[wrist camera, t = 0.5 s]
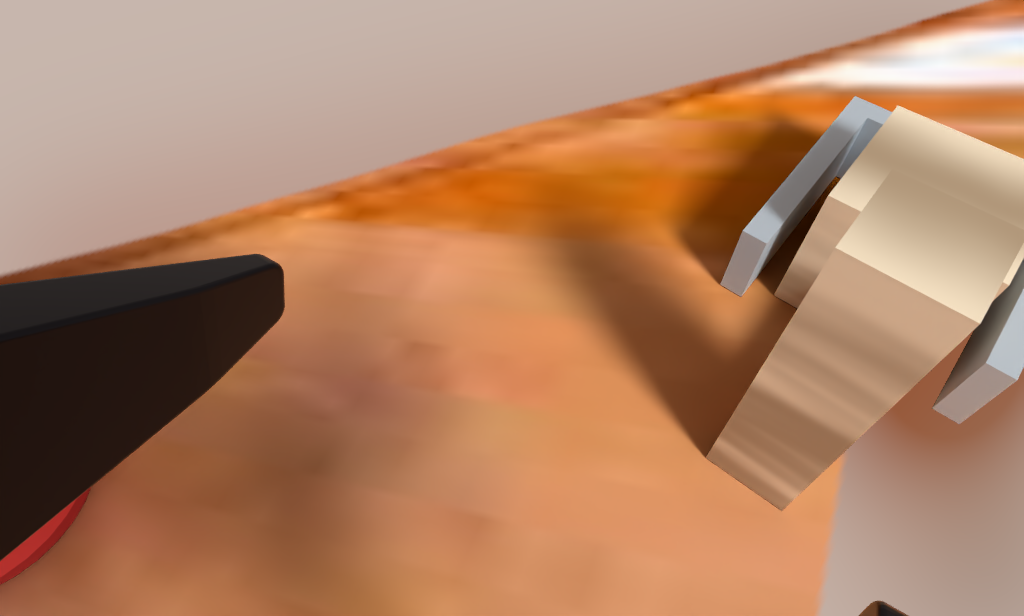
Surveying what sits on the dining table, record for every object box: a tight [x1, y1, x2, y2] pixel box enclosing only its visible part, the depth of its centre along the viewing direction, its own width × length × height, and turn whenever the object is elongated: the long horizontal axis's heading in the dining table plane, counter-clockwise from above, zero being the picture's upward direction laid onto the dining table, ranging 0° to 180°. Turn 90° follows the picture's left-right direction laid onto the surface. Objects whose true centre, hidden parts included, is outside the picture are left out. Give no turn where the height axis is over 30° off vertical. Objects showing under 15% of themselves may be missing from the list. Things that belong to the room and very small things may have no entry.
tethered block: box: [706, 106, 1024, 511], centre depth 22 cm, size 14×6×12 cm, turn 140°
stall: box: [720, 96, 1024, 424], centre depth 27 cm, size 10×10×4 cm
